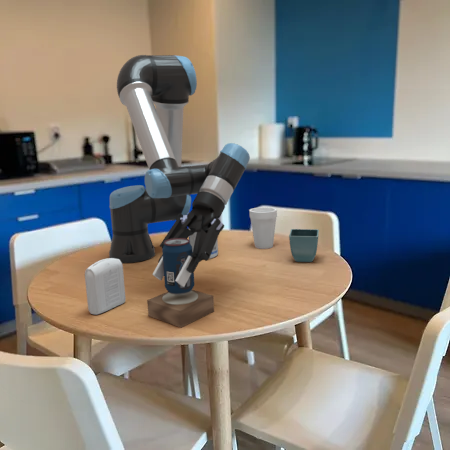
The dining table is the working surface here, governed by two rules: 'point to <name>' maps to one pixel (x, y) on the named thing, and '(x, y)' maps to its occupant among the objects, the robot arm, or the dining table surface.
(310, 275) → the dining table surface
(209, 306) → the plinth
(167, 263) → the soda can
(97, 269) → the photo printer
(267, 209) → the foam cup
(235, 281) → the dining table surface
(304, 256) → the flower pot
